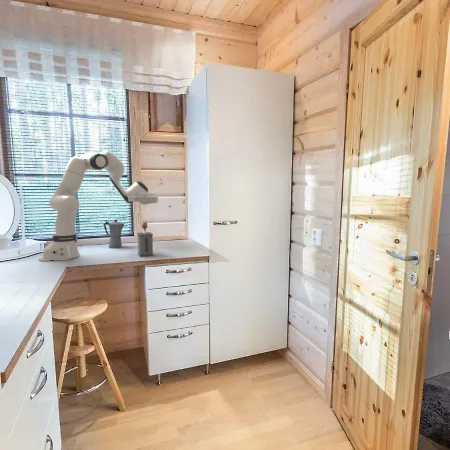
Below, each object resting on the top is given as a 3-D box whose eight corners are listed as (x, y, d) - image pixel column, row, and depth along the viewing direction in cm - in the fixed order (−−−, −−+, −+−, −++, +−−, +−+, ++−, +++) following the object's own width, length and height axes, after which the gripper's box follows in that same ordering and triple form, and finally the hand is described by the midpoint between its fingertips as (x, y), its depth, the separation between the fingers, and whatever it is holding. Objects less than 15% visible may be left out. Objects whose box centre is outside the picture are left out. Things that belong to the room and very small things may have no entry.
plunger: (141, 253, 198) (140, 223, 195) (140, 251, 204) (139, 222, 201) (150, 252, 201) (150, 223, 198) (149, 251, 206) (148, 221, 203)
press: (140, 257, 195) (139, 235, 193) (137, 253, 204) (137, 233, 202) (154, 256, 198) (153, 234, 196) (150, 252, 208) (150, 232, 206)
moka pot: (123, 248, 219) (122, 220, 216) (101, 248, 220) (100, 220, 217) (127, 245, 229) (126, 218, 226) (106, 245, 229) (105, 218, 226)
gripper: (129, 193, 223) (126, 194, 210) (158, 194, 226) (157, 195, 213) (129, 202, 224) (126, 203, 210) (158, 203, 227) (157, 204, 213)
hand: (142, 199), depth 212 cm, fingers open, 8 cm apart
